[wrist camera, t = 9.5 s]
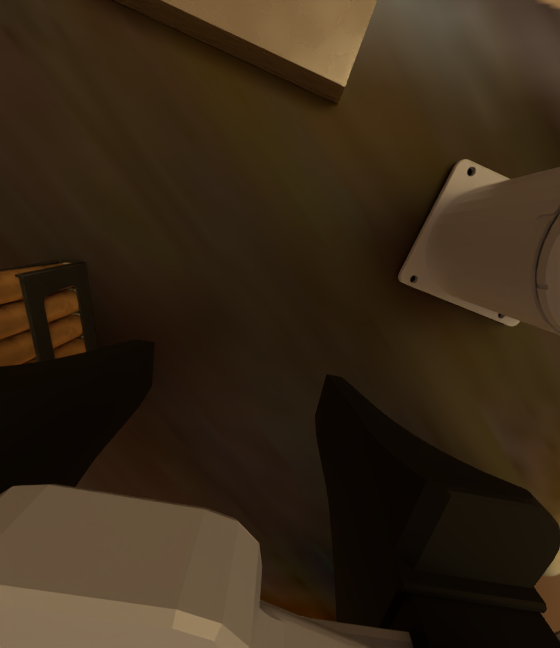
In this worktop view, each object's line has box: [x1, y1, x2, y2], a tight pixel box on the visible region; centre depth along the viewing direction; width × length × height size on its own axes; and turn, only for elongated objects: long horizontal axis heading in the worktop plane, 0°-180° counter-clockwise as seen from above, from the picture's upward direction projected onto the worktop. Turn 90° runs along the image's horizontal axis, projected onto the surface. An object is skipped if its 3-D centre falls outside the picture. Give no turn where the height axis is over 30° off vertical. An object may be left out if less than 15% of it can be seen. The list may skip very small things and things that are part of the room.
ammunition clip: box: [0, 260, 98, 367], centre depth 15 cm, size 11×2×12 cm, turn 176°
